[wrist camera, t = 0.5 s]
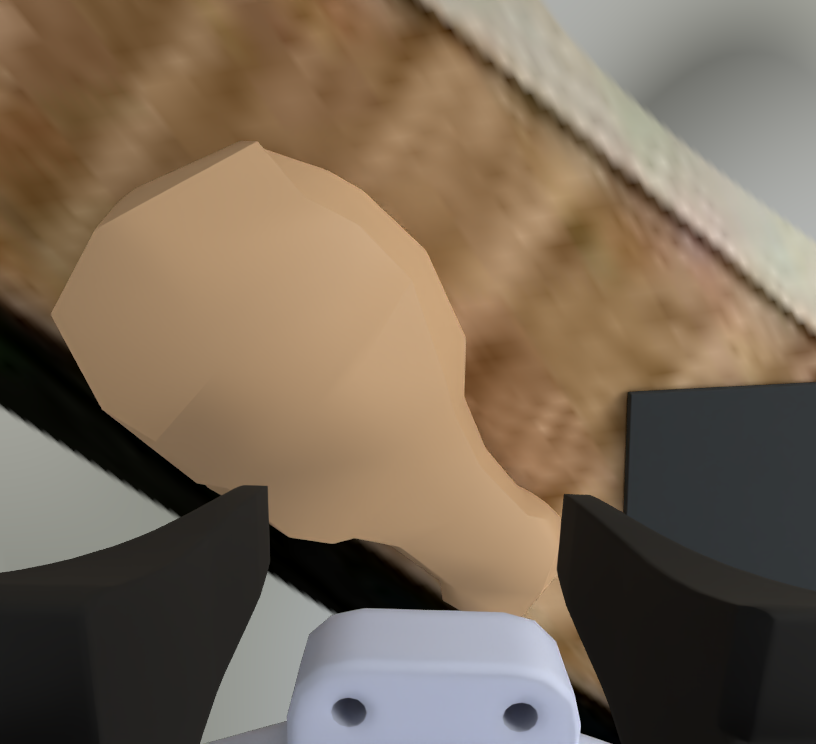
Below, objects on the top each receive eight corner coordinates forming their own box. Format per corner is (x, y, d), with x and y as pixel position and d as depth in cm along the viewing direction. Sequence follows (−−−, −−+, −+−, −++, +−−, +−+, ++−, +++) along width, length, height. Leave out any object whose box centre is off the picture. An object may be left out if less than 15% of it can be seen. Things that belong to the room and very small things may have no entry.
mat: (862, 633, 26) (869, 639, 26) (618, 644, 26) (621, 650, 26) (901, 377, 23) (909, 380, 23) (627, 391, 23) (630, 394, 23)
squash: (261, 96, 21) (245, -8, 13) (580, 443, 27) (719, 534, 18) (53, 304, 21) (-105, 343, 13) (418, 606, 27) (481, 773, 18)
